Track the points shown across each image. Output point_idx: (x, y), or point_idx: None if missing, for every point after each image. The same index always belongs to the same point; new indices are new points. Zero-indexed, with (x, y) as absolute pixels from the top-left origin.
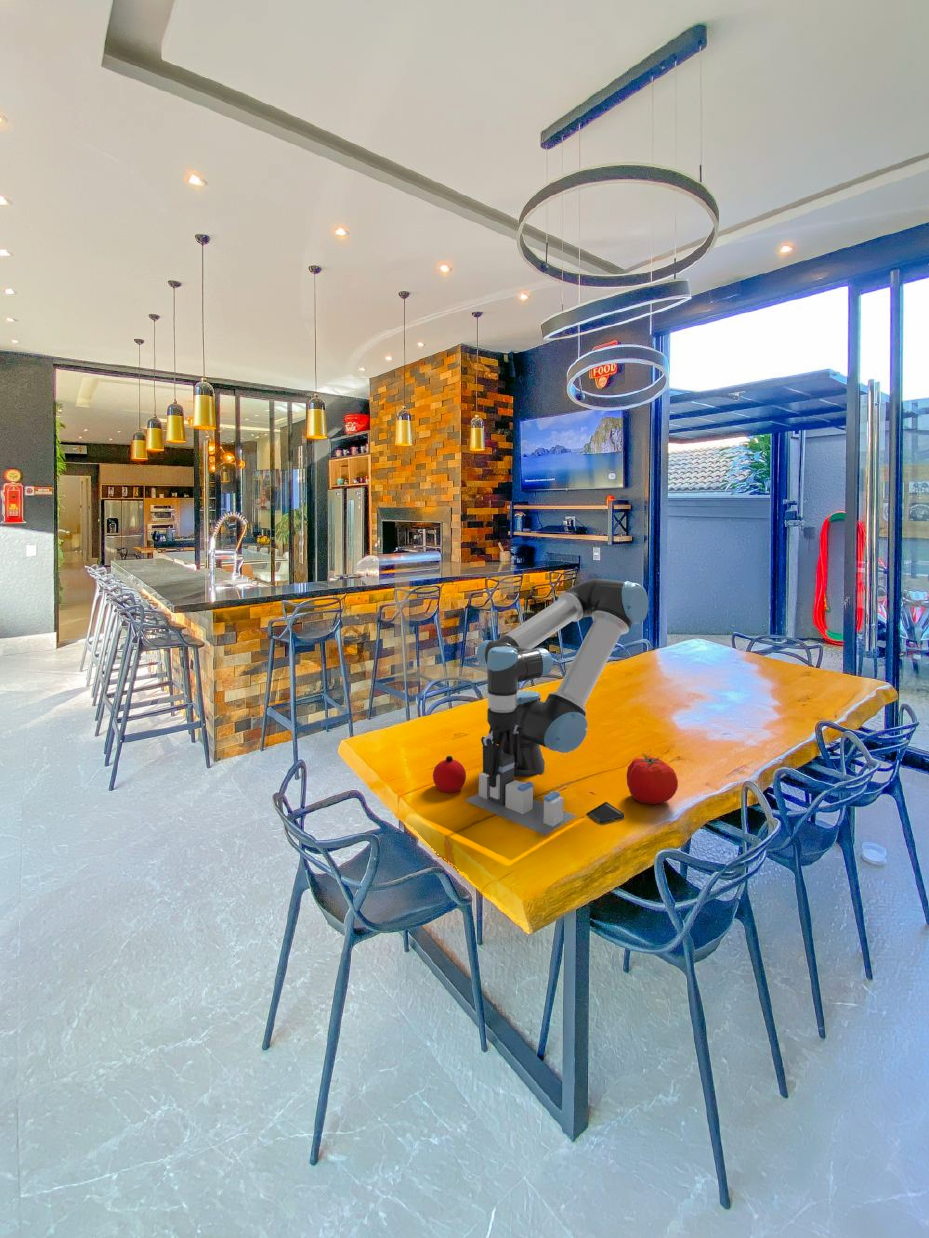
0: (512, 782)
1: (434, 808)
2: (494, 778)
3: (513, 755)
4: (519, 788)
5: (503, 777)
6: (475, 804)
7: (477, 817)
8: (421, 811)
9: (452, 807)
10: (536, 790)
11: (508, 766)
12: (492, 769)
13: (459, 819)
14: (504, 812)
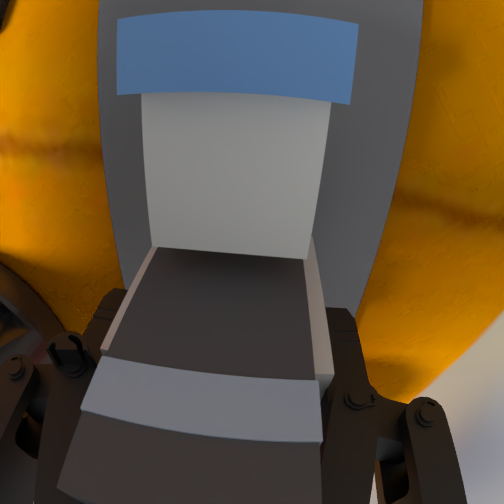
0: (217, 240)
1: (415, 366)
2: (346, 365)
3: (44, 463)
4: (351, 72)
5: (296, 331)
6: (357, 299)
7: (426, 235)
8: (442, 372)
9: (388, 341)
10: (25, 187)
11: (198, 413)
12: (422, 449)
13: (462, 277)
14: (358, 143)
